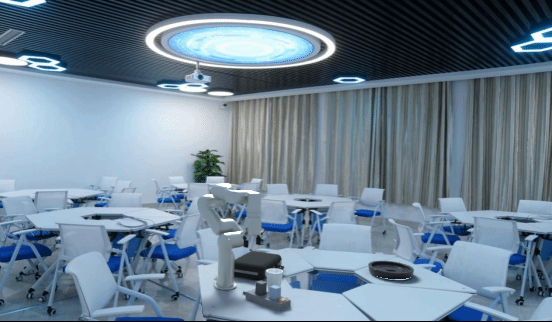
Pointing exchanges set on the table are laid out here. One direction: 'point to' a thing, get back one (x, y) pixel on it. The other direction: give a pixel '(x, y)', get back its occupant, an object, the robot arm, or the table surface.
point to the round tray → (390, 269)
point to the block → (275, 293)
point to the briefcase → (256, 265)
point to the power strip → (266, 297)
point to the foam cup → (274, 277)
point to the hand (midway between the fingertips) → (252, 246)
